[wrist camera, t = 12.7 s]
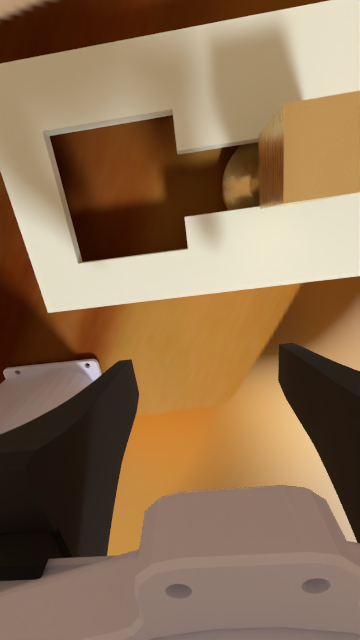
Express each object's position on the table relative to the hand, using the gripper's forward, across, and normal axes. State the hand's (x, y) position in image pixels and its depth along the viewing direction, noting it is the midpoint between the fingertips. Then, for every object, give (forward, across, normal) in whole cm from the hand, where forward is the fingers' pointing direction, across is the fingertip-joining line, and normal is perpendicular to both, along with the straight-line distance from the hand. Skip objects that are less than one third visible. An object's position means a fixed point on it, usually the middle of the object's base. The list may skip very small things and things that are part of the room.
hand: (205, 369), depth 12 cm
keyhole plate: (+10, -1, -9) cm, 14 cm away
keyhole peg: (+10, -6, -9) cm, 15 cm away
